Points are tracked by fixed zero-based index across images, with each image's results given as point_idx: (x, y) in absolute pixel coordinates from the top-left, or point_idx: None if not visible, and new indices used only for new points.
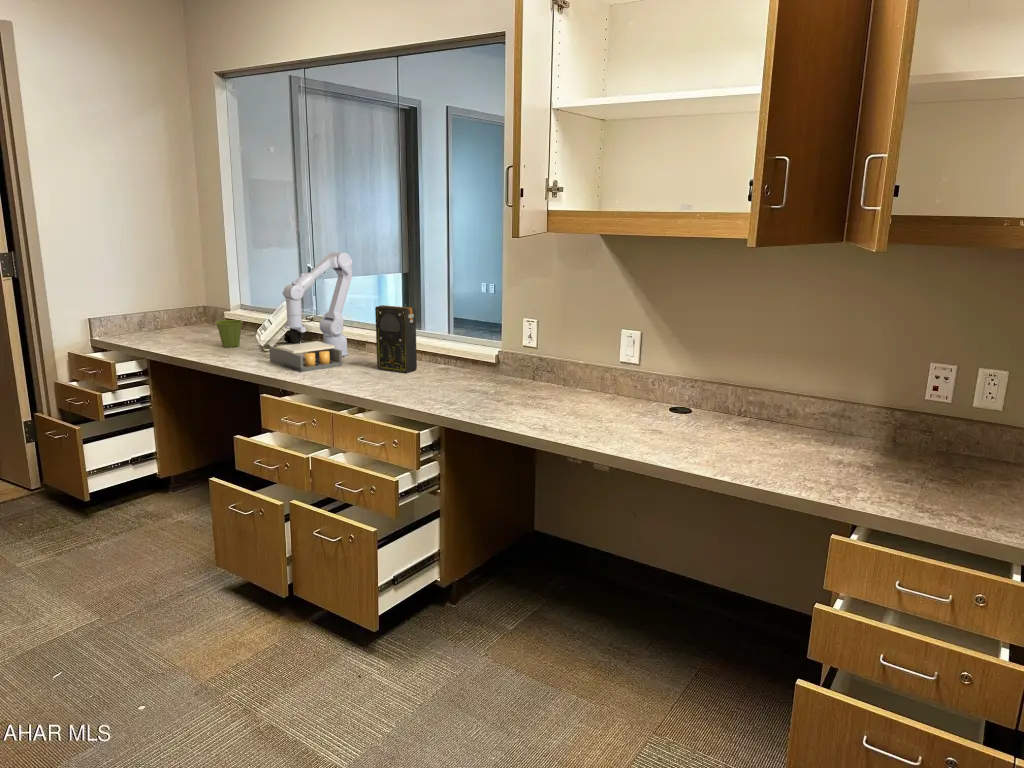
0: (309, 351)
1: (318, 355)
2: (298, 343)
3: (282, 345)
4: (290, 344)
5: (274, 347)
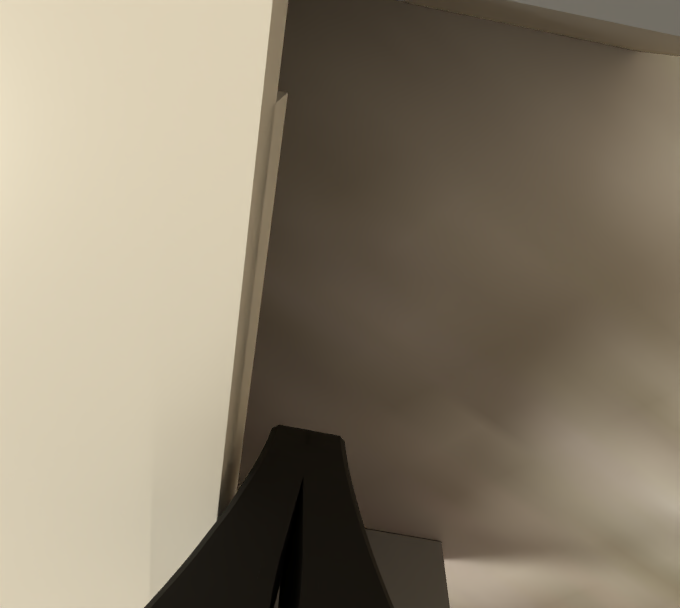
0: (399, 601)
1: None
2: None
3: (249, 109)
4: (225, 387)
5: (651, 23)
